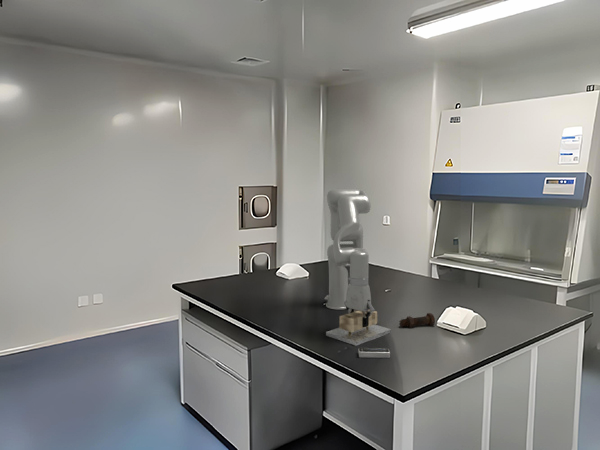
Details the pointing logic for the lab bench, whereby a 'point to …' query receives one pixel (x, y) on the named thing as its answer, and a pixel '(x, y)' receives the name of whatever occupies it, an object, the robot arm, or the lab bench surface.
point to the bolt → (418, 321)
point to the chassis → (358, 334)
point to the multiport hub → (374, 352)
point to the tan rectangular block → (355, 321)
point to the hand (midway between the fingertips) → (358, 324)
